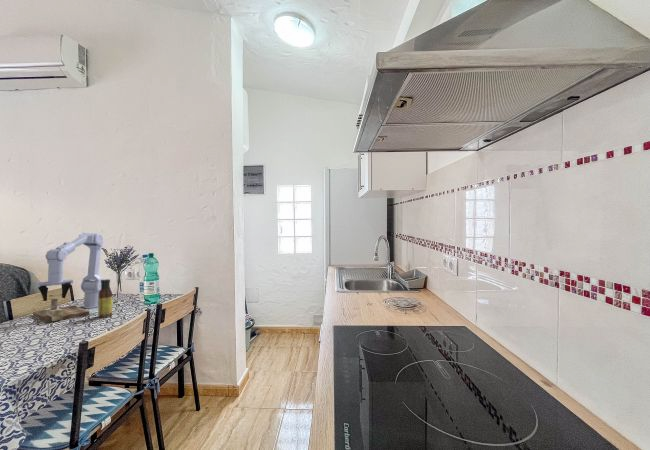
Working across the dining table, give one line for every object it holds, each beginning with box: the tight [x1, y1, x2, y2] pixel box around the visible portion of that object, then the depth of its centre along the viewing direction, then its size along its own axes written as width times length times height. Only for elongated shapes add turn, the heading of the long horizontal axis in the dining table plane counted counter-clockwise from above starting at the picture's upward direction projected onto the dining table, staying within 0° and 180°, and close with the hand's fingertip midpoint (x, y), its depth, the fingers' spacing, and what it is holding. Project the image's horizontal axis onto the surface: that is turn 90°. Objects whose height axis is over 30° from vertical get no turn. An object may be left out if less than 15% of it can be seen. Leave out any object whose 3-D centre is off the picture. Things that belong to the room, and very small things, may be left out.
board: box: [32, 305, 90, 323], centre depth 167 cm, size 18×20×2 cm
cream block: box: [46, 298, 63, 322], centre depth 159 cm, size 4×9×10 cm, turn 57°
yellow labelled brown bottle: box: [97, 278, 114, 319], centre depth 168 cm, size 6×6×20 cm
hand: (54, 299), depth 160 cm, fingers open, 7 cm apart
